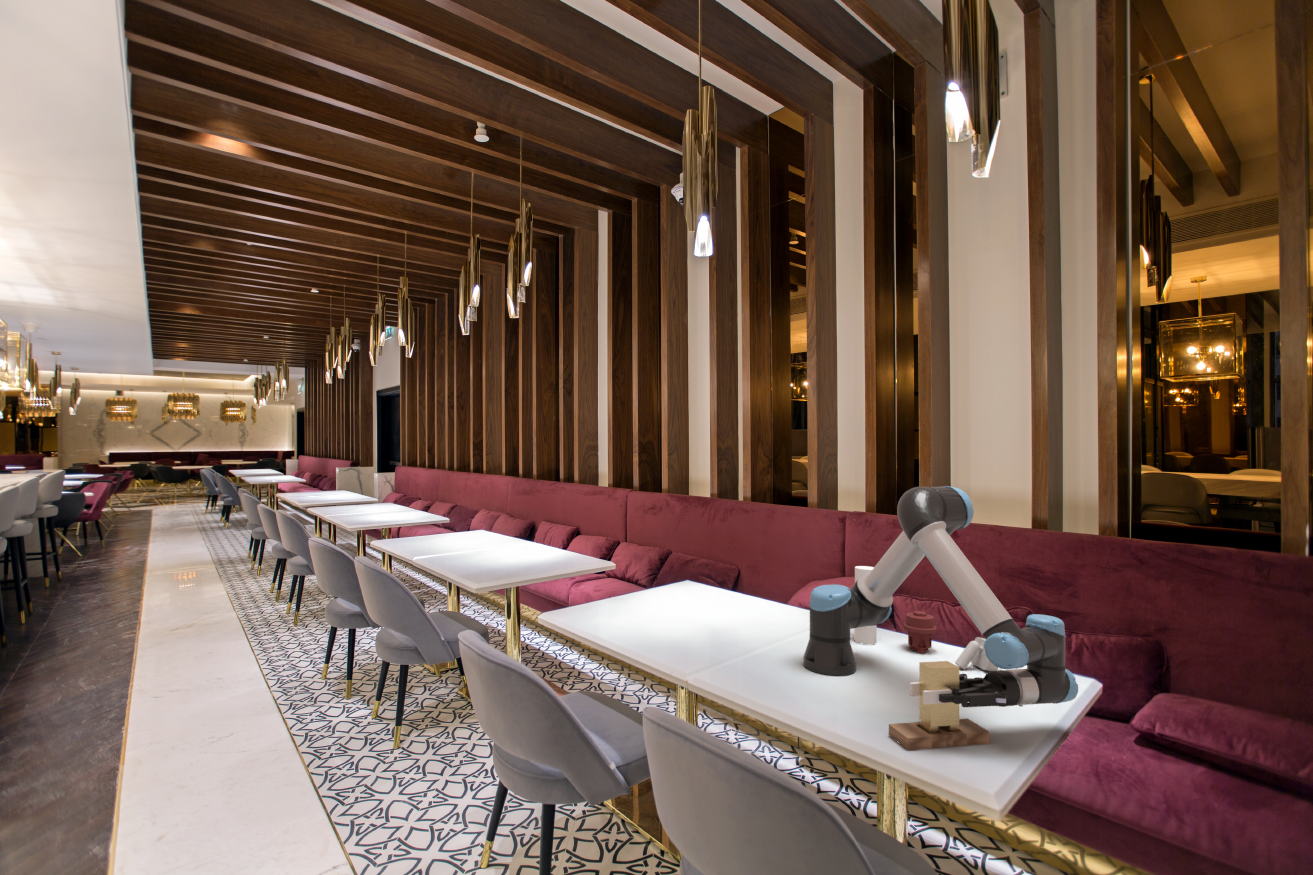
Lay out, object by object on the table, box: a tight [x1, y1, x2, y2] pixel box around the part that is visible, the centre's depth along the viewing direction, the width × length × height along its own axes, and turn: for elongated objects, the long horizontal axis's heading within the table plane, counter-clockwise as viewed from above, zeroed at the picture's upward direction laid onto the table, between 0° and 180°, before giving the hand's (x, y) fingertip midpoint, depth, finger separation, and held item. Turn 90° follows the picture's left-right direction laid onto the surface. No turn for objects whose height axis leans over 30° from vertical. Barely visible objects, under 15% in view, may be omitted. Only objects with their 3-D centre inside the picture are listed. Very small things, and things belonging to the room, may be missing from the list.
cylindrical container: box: [853, 565, 878, 645], centre depth 206 cm, size 7×7×25 cm
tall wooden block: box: [918, 660, 960, 734], centre depth 134 cm, size 7×4×15 cm, turn 101°
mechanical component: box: [902, 610, 938, 655], centre depth 197 cm, size 12×10×10 cm
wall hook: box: [954, 636, 999, 672], centre depth 180 cm, size 8×10×10 cm
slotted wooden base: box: [888, 718, 991, 751], centre depth 133 cm, size 20×7×2 cm, turn 101°
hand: (917, 693), depth 133 cm, fingers closed on tall wooden block, 4 cm apart
